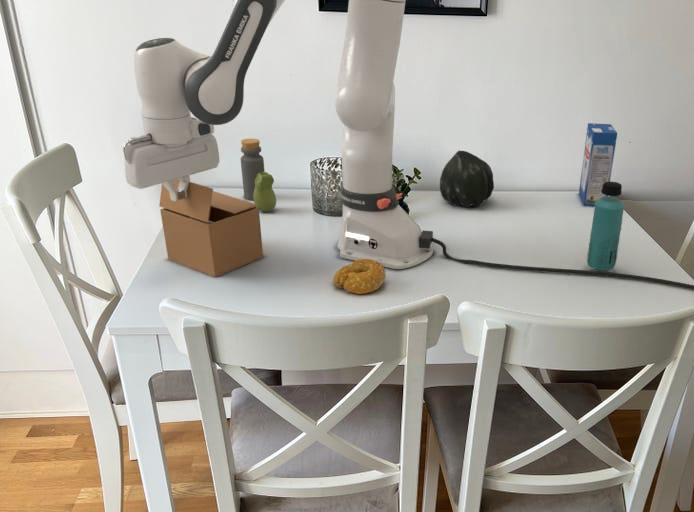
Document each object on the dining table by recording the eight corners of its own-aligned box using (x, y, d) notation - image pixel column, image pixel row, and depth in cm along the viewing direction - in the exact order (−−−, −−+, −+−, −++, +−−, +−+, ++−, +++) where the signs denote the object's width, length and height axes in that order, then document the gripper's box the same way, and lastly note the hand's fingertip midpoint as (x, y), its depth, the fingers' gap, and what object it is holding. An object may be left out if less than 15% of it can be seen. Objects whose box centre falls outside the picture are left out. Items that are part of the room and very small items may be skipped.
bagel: (336, 274, 160) (335, 253, 157) (388, 277, 160) (388, 256, 157) (329, 294, 151) (328, 272, 149) (383, 297, 151) (383, 275, 149)
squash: (507, 178, 205) (474, 134, 201) (498, 197, 193) (462, 150, 188) (468, 207, 212) (435, 164, 208) (457, 226, 200) (421, 182, 195)
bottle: (261, 201, 197) (256, 144, 190) (240, 199, 198) (234, 142, 191) (270, 194, 202) (265, 138, 195) (249, 192, 203) (244, 136, 196)
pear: (267, 205, 195) (264, 168, 190) (281, 210, 192) (278, 172, 187) (250, 211, 191) (246, 172, 186) (265, 216, 188) (261, 177, 183)
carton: (263, 256, 166) (258, 204, 160) (215, 277, 156) (207, 222, 150) (217, 241, 173) (210, 190, 167) (168, 259, 163) (159, 206, 157)
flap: (213, 188, 148) (211, 188, 148) (208, 222, 150) (207, 222, 150) (164, 174, 155) (163, 174, 155) (160, 206, 157) (159, 206, 156)
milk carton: (606, 207, 205) (617, 133, 194) (583, 206, 205) (593, 132, 194) (600, 195, 213) (610, 124, 203) (578, 194, 213) (587, 123, 203)
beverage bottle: (608, 279, 163) (622, 190, 153) (580, 272, 166) (592, 183, 156) (618, 269, 168) (633, 182, 158) (591, 262, 171) (604, 176, 160)
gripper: (132, 143, 135) (145, 216, 142) (220, 123, 150) (228, 190, 157) (111, 137, 138) (124, 209, 145) (198, 118, 153) (207, 184, 160)
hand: (179, 199), depth 151 cm, fingers closed
